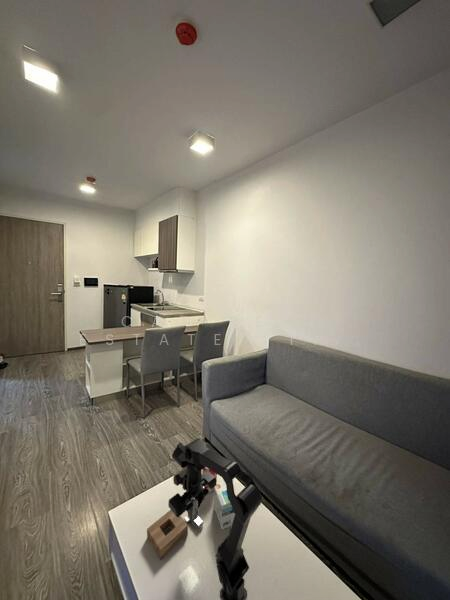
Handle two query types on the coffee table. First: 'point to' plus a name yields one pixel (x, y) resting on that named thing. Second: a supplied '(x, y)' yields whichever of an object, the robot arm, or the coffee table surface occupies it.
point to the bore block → (169, 541)
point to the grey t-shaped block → (195, 521)
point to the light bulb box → (223, 506)
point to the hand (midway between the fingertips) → (193, 511)
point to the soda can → (212, 474)
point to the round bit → (194, 508)
